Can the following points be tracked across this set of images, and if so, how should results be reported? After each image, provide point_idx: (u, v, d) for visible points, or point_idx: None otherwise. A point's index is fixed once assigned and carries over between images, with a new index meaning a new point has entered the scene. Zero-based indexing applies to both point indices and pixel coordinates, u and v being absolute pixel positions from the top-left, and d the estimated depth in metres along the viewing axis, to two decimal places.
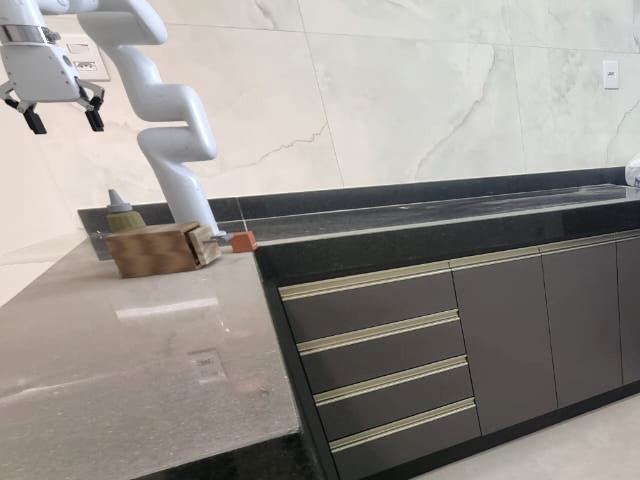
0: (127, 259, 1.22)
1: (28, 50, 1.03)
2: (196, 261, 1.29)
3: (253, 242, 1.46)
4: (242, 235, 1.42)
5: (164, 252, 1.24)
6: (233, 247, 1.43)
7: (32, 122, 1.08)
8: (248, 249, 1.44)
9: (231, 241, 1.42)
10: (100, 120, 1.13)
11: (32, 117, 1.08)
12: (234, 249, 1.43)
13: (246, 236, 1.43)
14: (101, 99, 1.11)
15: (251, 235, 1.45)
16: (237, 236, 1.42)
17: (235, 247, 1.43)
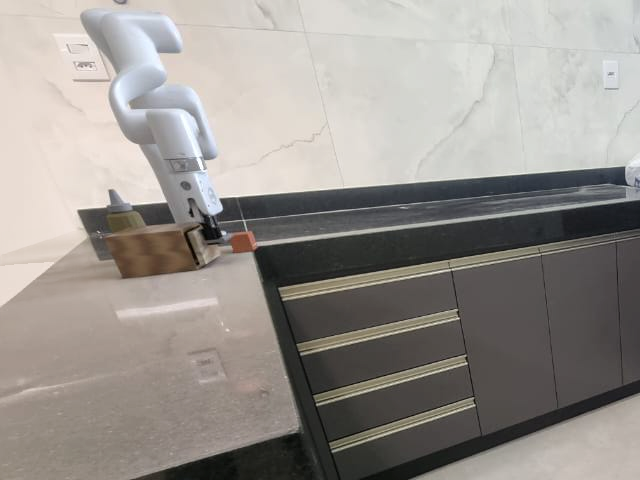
0: (127, 259, 1.22)
1: None
2: (195, 261, 1.29)
3: (253, 242, 1.46)
4: (242, 235, 1.42)
5: (164, 252, 1.24)
6: (233, 247, 1.43)
7: None
8: (248, 249, 1.44)
9: (231, 241, 1.42)
10: (212, 236, 1.30)
11: None
12: (234, 249, 1.43)
13: (246, 236, 1.43)
14: (202, 223, 1.27)
15: (251, 235, 1.45)
16: (237, 236, 1.42)
17: (235, 247, 1.43)
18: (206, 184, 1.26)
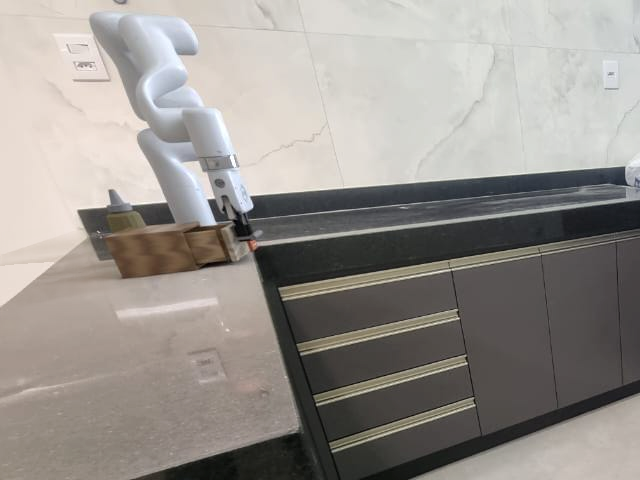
0: (127, 259, 1.22)
1: None
2: (227, 258, 1.31)
3: (253, 242, 1.46)
4: None
5: (164, 252, 1.24)
6: None
7: None
8: None
9: None
10: (243, 233, 1.32)
11: None
12: None
13: None
14: (234, 220, 1.29)
15: None
16: None
17: None
18: (238, 182, 1.28)
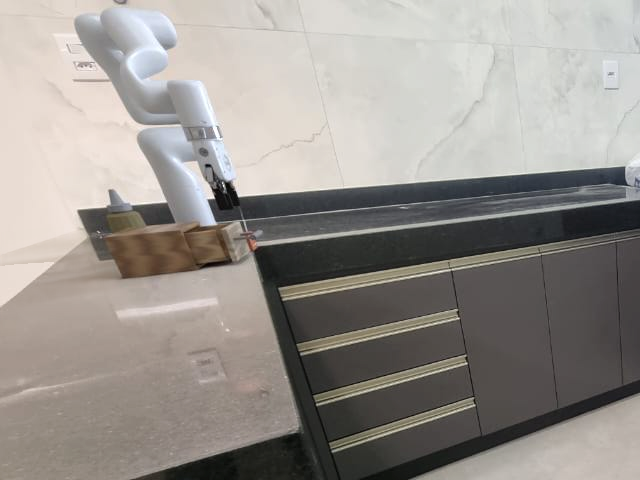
0: (127, 259, 1.22)
1: None
2: (227, 258, 1.31)
3: (253, 242, 1.46)
4: None
5: (164, 252, 1.24)
6: None
7: None
8: None
9: None
10: (223, 201, 1.36)
11: None
12: None
13: (246, 236, 1.43)
14: (213, 187, 1.33)
15: None
16: None
17: None
18: (222, 152, 1.35)
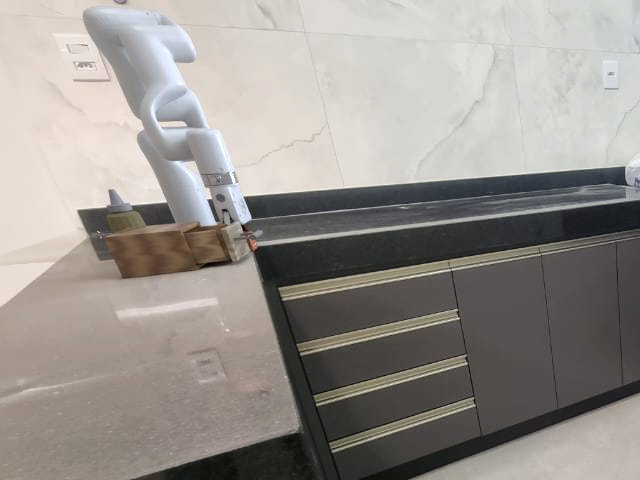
0: (127, 259, 1.22)
1: None
2: (227, 258, 1.31)
3: (253, 242, 1.46)
4: None
5: (164, 252, 1.24)
6: None
7: None
8: None
9: None
10: None
11: None
12: None
13: (246, 236, 1.43)
14: None
15: None
16: None
17: None
18: (238, 196, 1.40)
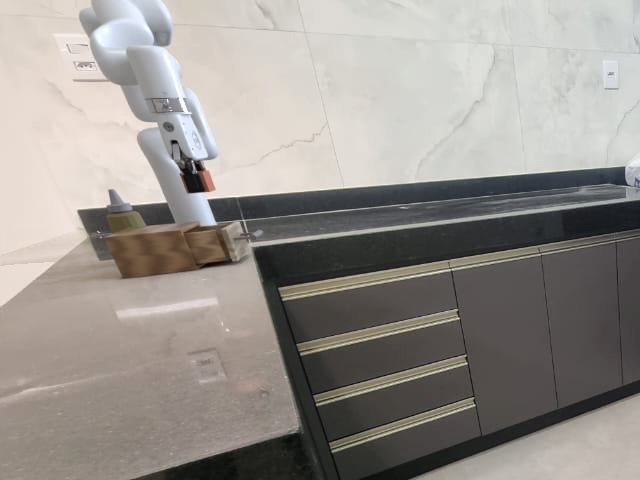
0: (127, 259, 1.22)
1: None
2: (227, 258, 1.31)
3: (210, 183, 1.28)
4: None
5: (164, 252, 1.24)
6: (186, 187, 1.25)
7: None
8: None
9: (183, 180, 1.24)
10: (193, 183, 1.24)
11: None
12: (187, 189, 1.25)
13: (201, 174, 1.25)
14: (182, 167, 1.21)
15: (207, 175, 1.28)
16: None
17: None
18: (190, 127, 1.22)
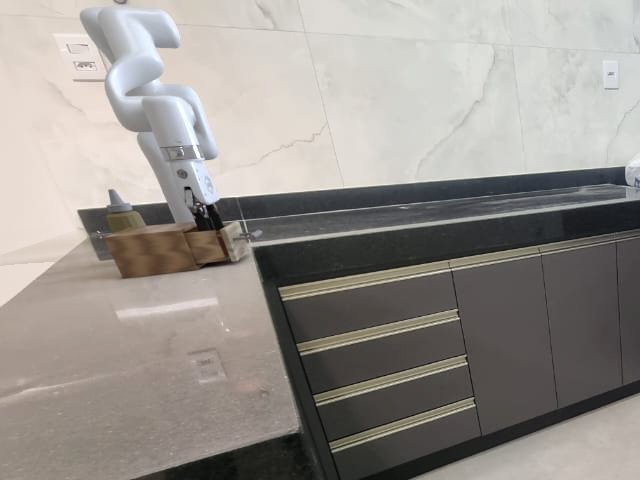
0: (127, 259, 1.22)
1: None
2: (226, 258, 1.31)
3: None
4: None
5: (164, 252, 1.24)
6: None
7: None
8: None
9: None
10: (205, 226, 1.27)
11: None
12: None
13: (221, 239, 1.30)
14: (194, 212, 1.23)
15: None
16: None
17: None
18: (203, 173, 1.25)
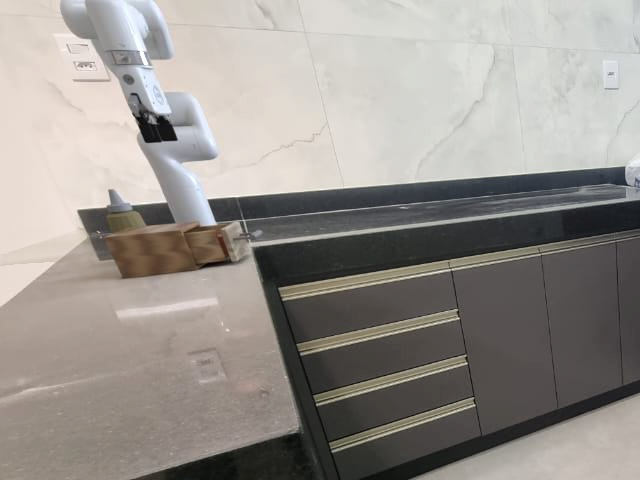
0: (127, 259, 1.22)
1: None
2: (226, 258, 1.31)
3: None
4: None
5: (164, 252, 1.24)
6: None
7: (158, 131, 1.31)
8: None
9: None
10: (149, 133, 1.23)
11: (159, 127, 1.31)
12: None
13: (221, 239, 1.30)
14: (135, 114, 1.19)
15: None
16: None
17: None
18: (151, 81, 1.23)
